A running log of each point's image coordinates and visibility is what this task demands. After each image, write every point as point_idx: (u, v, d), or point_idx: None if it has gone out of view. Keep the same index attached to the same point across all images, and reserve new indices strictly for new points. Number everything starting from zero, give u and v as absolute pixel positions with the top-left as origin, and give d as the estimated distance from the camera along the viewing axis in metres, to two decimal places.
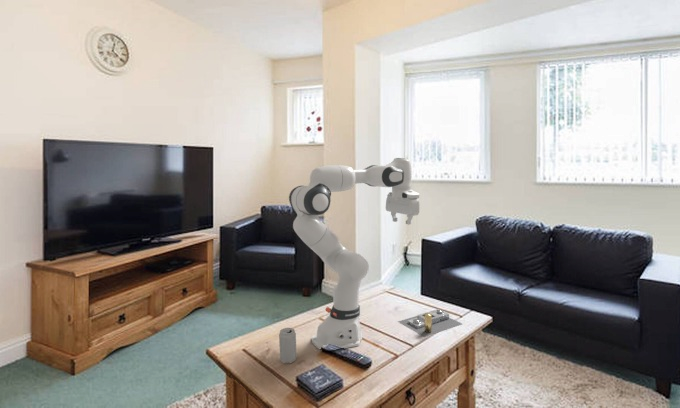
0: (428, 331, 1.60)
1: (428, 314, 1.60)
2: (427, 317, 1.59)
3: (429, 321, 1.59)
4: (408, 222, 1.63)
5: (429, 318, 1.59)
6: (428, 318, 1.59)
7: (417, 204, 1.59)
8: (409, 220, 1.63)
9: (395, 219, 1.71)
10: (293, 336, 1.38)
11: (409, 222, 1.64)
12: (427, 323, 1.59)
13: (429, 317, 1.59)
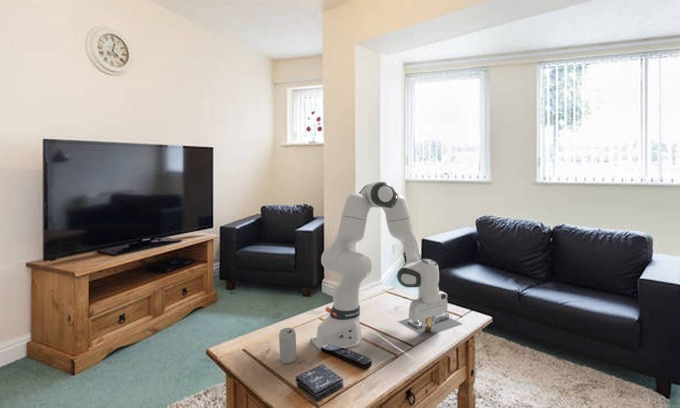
0: (428, 331, 1.60)
1: None
2: None
3: (429, 321, 1.59)
4: None
5: (429, 318, 1.59)
6: (428, 318, 1.59)
7: None
8: None
9: None
10: (293, 336, 1.38)
11: None
12: (427, 323, 1.59)
13: (429, 317, 1.59)
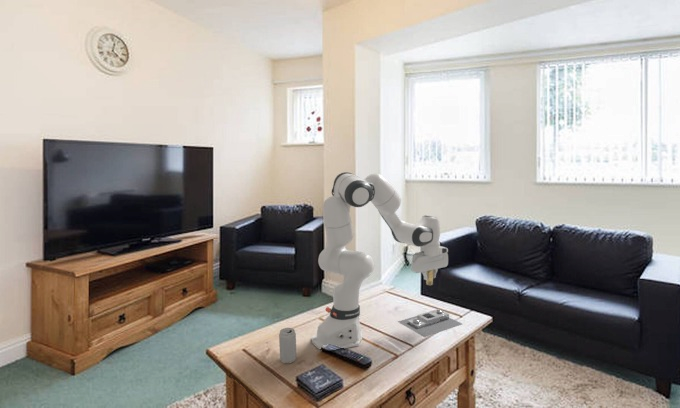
0: (429, 283, 1.68)
1: None
2: None
3: (430, 274, 1.67)
4: None
5: (431, 271, 1.67)
6: (429, 270, 1.67)
7: None
8: None
9: None
10: (293, 336, 1.38)
11: None
12: (428, 275, 1.68)
13: (430, 270, 1.67)
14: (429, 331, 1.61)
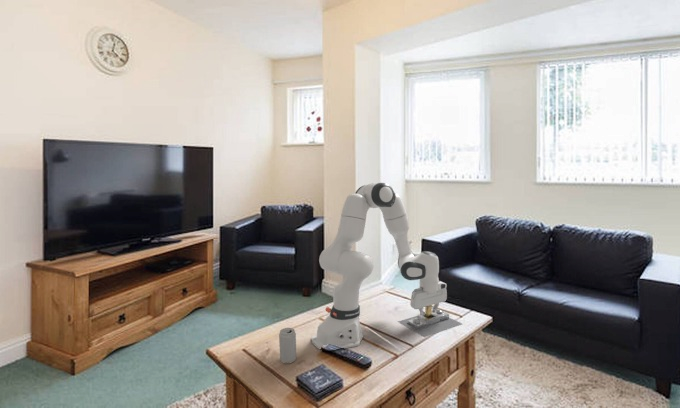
0: None
1: None
2: (427, 307, 1.70)
3: (429, 311, 1.70)
4: None
5: (430, 307, 1.70)
6: (428, 307, 1.70)
7: None
8: None
9: None
10: (293, 336, 1.38)
11: None
12: (427, 312, 1.70)
13: (429, 307, 1.70)
14: (429, 331, 1.61)
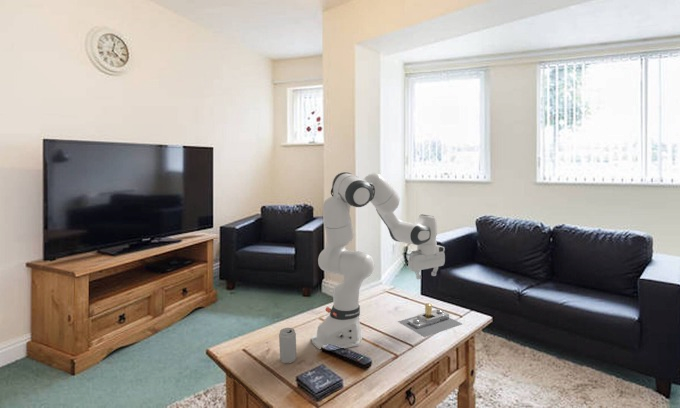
0: None
1: (428, 304, 1.71)
2: (427, 307, 1.70)
3: (429, 311, 1.70)
4: None
5: (430, 308, 1.70)
6: (428, 307, 1.70)
7: None
8: None
9: None
10: (293, 336, 1.38)
11: None
12: (427, 312, 1.70)
13: (429, 307, 1.70)
14: (429, 331, 1.61)
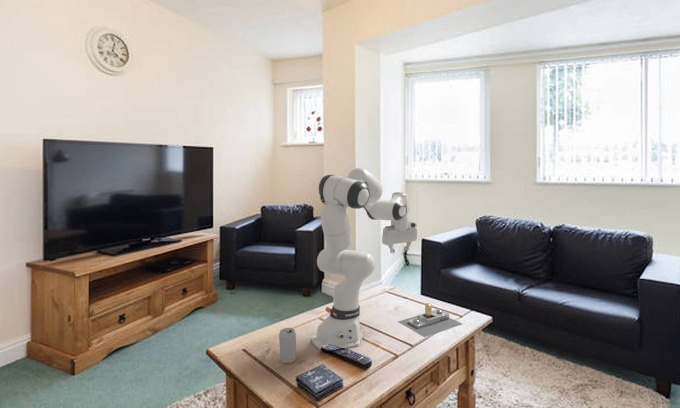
0: None
1: (428, 304, 1.71)
2: (427, 307, 1.70)
3: (429, 311, 1.70)
4: None
5: (430, 307, 1.70)
6: (428, 307, 1.70)
7: None
8: None
9: None
10: (293, 336, 1.38)
11: None
12: (427, 312, 1.70)
13: (429, 307, 1.70)
14: (429, 331, 1.61)
